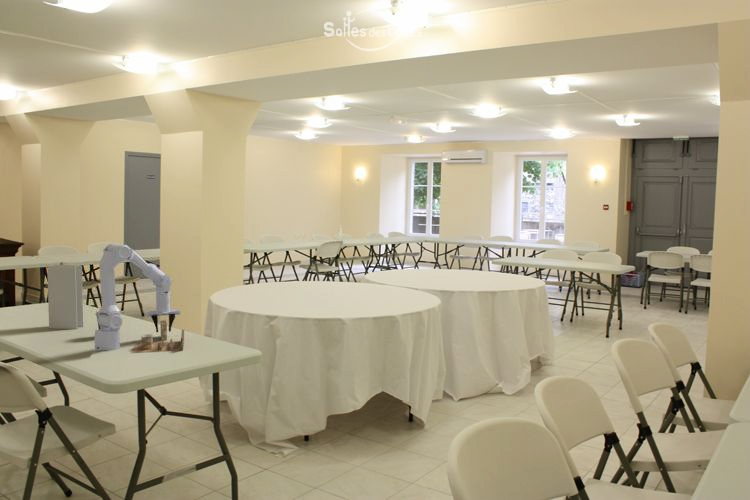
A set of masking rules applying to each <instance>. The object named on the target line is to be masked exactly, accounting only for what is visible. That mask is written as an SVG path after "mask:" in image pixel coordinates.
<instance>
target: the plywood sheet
mask: <svg viewBox="0 0 750 500" xmlns="http://www.w3.org/2000/svg"><path fill="white" fill-rule="evenodd" d="M159 320H160V321H159V322H160V324H159V325H160V336H161V337H160V338H161V340H163V339H164V342H166V341H168V337H167V336H168V334H167V332H168V330H167V327H168V325H167V321H166V319H164V318H163V319H159Z"/></svg>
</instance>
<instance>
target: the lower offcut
mask: <svg viewBox="0 0 750 500" xmlns="http://www.w3.org/2000/svg"><path fill="white" fill-rule="evenodd" d="M153 342H154V339H153V340H152V343H141V342H140V343H141V350H142V349H152V346H153Z"/></svg>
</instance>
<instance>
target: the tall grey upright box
mask: <svg viewBox="0 0 750 500" xmlns="http://www.w3.org/2000/svg"><path fill="white" fill-rule="evenodd" d="M46 269H47V298H48V299H47V301H48V303H47V304H48V327H49V329H62V330H63V329H65V330H66V329H67V330H69V329H70V330H78V328H84V301H83V299H84V298H83V295H84V294H83V293H84V292H83V265H74V264H73V265H71V264H70V265H69V264H53V265H47V267H46Z"/></svg>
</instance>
